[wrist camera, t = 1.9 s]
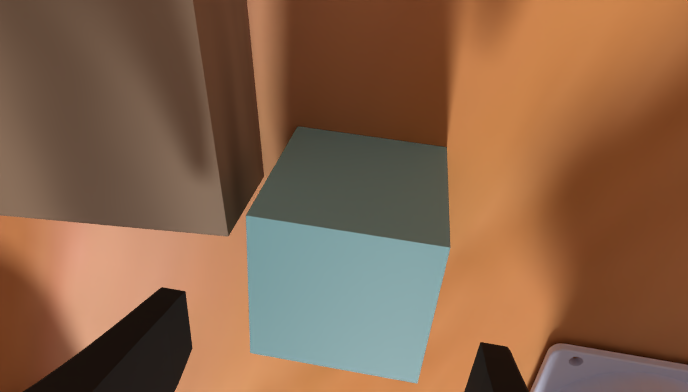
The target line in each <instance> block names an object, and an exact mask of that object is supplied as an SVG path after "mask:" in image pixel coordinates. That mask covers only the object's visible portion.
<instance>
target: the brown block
mask: <svg viewBox="0 0 688 392" xmlns="http://www.w3.org/2000/svg"><path fill="white" fill-rule="evenodd" d="M263 177H264V172H263V162H262V151H261V141H260V131H259V121H258V111H257V101H256V90H255V80H254V70H253V60H252V50H251V40H250V30H249V19H248V9H247V0H0V215H3V216H14V217H25V218H35V219H46V220H57V221H68V222H79V223H89V224H100V225H111V226H122V227H132V228H143V229H154V230H165V231H175V232H186V233H197V234H208V235H218V236H229V234H230V233H231V231H232V229H233V228H234V226H235V224H236V223H237V221H238V219H239V218H240V216H241V214H242V213H243V211H244V209H245V207H246V206H247V204H248V202H249V201H250V199H251V197H252V196H253V194H254V192H255V191H256V189H257V187H258V186H259V184H260V182H261V181H262V179H263Z"/></svg>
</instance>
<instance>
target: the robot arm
mask: <svg viewBox="0 0 688 392" xmlns="http://www.w3.org/2000/svg"><path fill="white" fill-rule="evenodd" d="M191 350H192V341H191V333H190V325H189V317H188V309H187V301H186V292H185V291H180V290H174V289H169V288H163V287H162V288H160V289H159V290H158V291H156V292H155V293H154V294H153V295H151V296H150V297H149V298H148V299H146V300H145V301H144V302H143V303H141V304H140V305H139V306H138V307H137V308H135V309H134V310H133V311H132V312H130V313H129V314H128V315H127V316H126V317H124V318H123V319H122V320H121V321H119V322H118V323H117V324H116V325H114V326H113V327H112V328H111V329H109V330H108V331H107V332H105V333H104V334H103V335H102V336H100V337H99V338H98V339H96V340H95V341H94V342H93V343H91V344H90V345H89V346H87V347H86V348H85V349H83V350H82V351H81V352H79V353H78V354H77V355H75V356H74V357H73V358H71V359H70V360H68V361H67V362H66V363H64V364H63V365H61V366H60V367H59V368H57V369H56V370H54V371H53V372H52V373H50V374H49V375H47V376H46V377H44V378H43V379H41V380H40V381H38V382H37V383H35V384H34V385H32V386H31V387H29V388H28V389H26V390H25V391H23V392H174V391H175V389H176V388H177V385H178V383H179V380H180V378H181V376H182V373H183V371H184V368H185V366H186V363H187V361H188V358H189V355H190V353H191ZM573 357H577V358H573ZM464 392H529V391H528V389H527V387H526V384H525V382H524V380H523V378H522V376H521V374H520V372H519V369H518V367H517V365H516V363H515V360H514V358H513V356H512V353H511V351H510V350H509V348H508V347H506V346H500V345H494V344H488V343H483V342H480V346H479V349H478V352H477V355H476V358H475V361H474V364H473V367H472V370H471V373H470V376H469V379H468V382H467V385H466V388H465V391H464ZM530 392H688V365H686V364H680V363H674V362H669V361H663V360H657V359H651V358H645V357H640V356H634V355H628V354H622V353H616V352H611V351H605V350H599V349H593V348H587V347H582V346H576V345H570V344H564V343H559V344H555V345H553V346H551V347H550V348H549V349H548V351H547V354H546V356H545V358H544V361H543V363H542V365H541V367H540V370H539V372H538V374H537V377H536V379H535V381H534V384H533V386H532V388H531V390H530Z"/></svg>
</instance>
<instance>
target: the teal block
mask: <svg viewBox="0 0 688 392" xmlns="http://www.w3.org/2000/svg"><path fill="white" fill-rule="evenodd" d="M246 230H247V262H248V294H249V326H250V353H254V354H259V355H265V356H270V357H276V358H281V359H287V360H292V361H297V362H303V363H308V364H314V365H319V366H325V367H330V368H336V369H341V370H347V371H352V372H358V373H363V374H368V375H374V376H379V377H385V378H390V379H396V380H401V381H407V382H412V383H418V379H419V375H420V370H421V366H422V362H423V358H424V354H425V350H426V346H427V342H428V338H429V333H430V329H431V325H432V321H433V317H434V313H435V309H436V305H437V300H438V296H439V292H440V288H441V284H442V280H443V276H444V272H445V267H446V263H447V259H448V255H449V251H450V225H449V197H448V168H447V147H442V146H435V145H428V144H420V143H413V142H406V141H399V140H392V139H385V138H378V137H371V136H364V135H356V134H349V133H342V132H335V131H328V130H321V129H314V128H307V127H299V126H298V127H297V128H296V130H295V132H294V133H293V135H292V137H291V139H290V140H289V142H288V144H287V146H286V147H285V149H284V151H283V152H282V154H281V156H280V158H279V159H278V161H277V163H276V165H275V166H274V168H273V170H272V171H271V173H270V175H269V177H268V178H267V180H266V182H265V184H264V185H263V187H262V189H261V190H260V192H259V194H258V196H257V197H256V199H255V201H254V203H253V204H252V206H251V208H250V209H249V211H248V213H247V215H246Z"/></svg>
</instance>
